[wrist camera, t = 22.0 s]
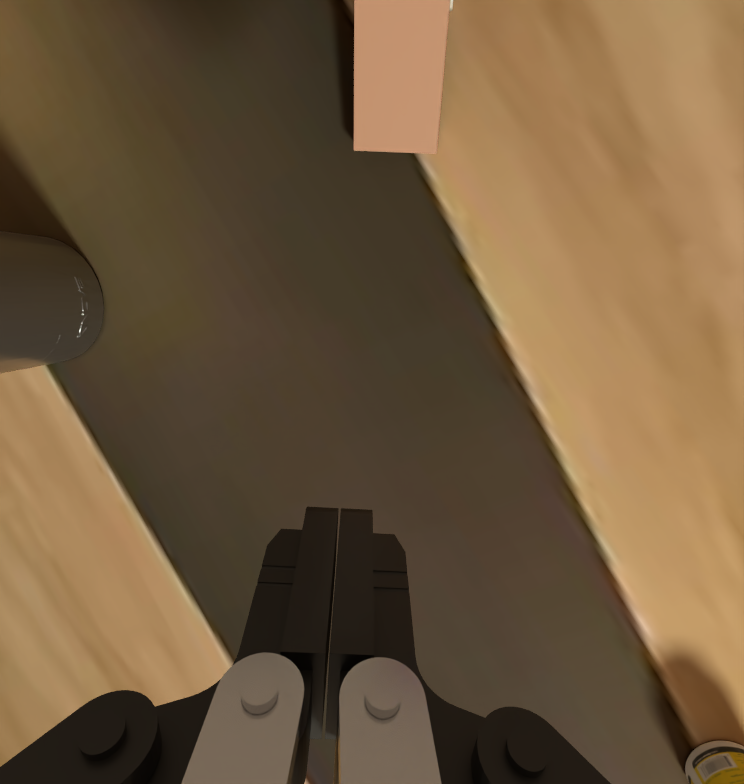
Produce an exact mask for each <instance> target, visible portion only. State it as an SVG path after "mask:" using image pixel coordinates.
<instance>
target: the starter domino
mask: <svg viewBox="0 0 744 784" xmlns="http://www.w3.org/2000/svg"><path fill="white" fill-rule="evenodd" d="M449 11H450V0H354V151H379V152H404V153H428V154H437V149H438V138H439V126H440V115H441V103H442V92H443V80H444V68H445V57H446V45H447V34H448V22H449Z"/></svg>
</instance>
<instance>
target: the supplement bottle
mask: <svg viewBox="0 0 744 784" xmlns="http://www.w3.org/2000/svg"><path fill="white" fill-rule="evenodd" d="M685 773H686V777H687V780H688V782H689V784H744V746H742V745H740V744H737V743H734V742H730V741H711V742H708V743H705V744H702V745H700V746H698V747H697V748H696V749H694V750H693V751H692V752H691V754H690V755H689V757H688V759H687V761H686V765H685Z"/></svg>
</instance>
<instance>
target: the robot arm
mask: <svg viewBox="0 0 744 784" xmlns="http://www.w3.org/2000/svg"><path fill="white" fill-rule="evenodd" d="M103 311H104V305H103V297H102V292H101V289H100V286H99V283H98V280H97V278H96V276H95V274H94V272H93V270H92V269H91V267H90V266H89V265H88V263H87V262H86V261H85V260H84V258H83V257H82V256H81V255H80V254H79V253H77V252H76V251H75V250H74V249H73V248H71V247H70V246H68V245H66V244H65V243H63V242H61V241H58V240H55V239H52V238H49V237H43V236H35V235H27V234H20V233H12V232H5V231H0V373H5V372H10V371H15V370H21V369H27V368H32V367H37V366H42V365H47V364H52V363H57V362H62V361H67V360H70V359H73V358H75V357H78V356H79V355H81V354H82V353H84V352H85V351H87V350H88V348H89V347H90V346H91V345H92V344H93V343H94V341H95V340H96V338H97V336H98V334H99V332H100V329H101V325H102V322H103ZM337 526H338V508H322V507H307V508H306V513H305V518H304V524H303V529H302V530H294V529H281V530H280V531H279V532H278V533H277V535H276V536H275V537H274V538H273V539H272V540H271V542H270V543H269V544H268V545H267V549H266V552H265V556H264V560H263V564H262V569H261V571H260V575H259V578H258V584H257V586H256V590H255V593H254V597H253V601H252V605H251V608H250V612H249V616H248V620H247V623H246V627H245V631H244V634H243V638H242V642H241V646H240V649H239V652H238V655H237V658H236V660H235V662H234V664H233V665H232V667H231V668H229V670H228V671H227V672H226V673H225V674H224V676H223V677H222V678H221V679H220V680H219V681H218V682H217V683H216V684H214V685H213V686H211V687H210V688H208V689H207V690H205V691H203V692H201V693H199V694H196V695H193V696H190V697H187V698H184V699H180V700H177V701H173V702H170V703H167V704H163V705H160V706H156V707H155V706H154V705H153V703H152V702H151V700H149V699H148V698H147V697H146V696H145V695H143V694H141V693H139V692H135V691H129V690H121V691H114V692H110V693H107V694H104V695H101V696H99V697H97V698H95V699H93V700H91V701H89V702H88V703H86V704H85V705H83V706H82V707H80V708H79V709H78V710H76V711H75V712H74V713H72V714H71V715H70V716H68V717H67V718H66V719H64V720H63V721H62V722H60V723H59V724H58V725H56V726H55V727H54V728H52V729H51V730H50V731H48V732H47V733H45V734H44V735H43V736H41V737H40V738H39V739H37V740H36V741H35V742H33V743H32V744H31V745H29V746H28V747H27V748H25V749H24V750H23V751H21V752H20V753H19V754H17V755H16V756H14V757H13V758H12V759H10V760H9V761H8V762H6V763H5V764H4V765H2V766H1V767H0V784H304V782H305V778H306V772H307V762H308V752H309V742H310V739H321V738H322V726H323V713H324V701H325V689H326V677H327V664H328V652H329V640H330V628H331V615H332V603H333V591H334V578H335V563H336V545H337ZM325 739H336V745H335V763H334V781H333V784H611V783H610V782H609V781H608V780H607V779H605V778H604V777H603V776H602V775H601V774H600V773H599V772H598V771H597V770H596V769H595V768H594V767H593V766H592V765H591V764H590V763H589V762H588V761H587V760H586V759H585V758H584V757H583V756H582V755H581V754H580V753H579V752H578V751H577V750H576V749H575V748H574V747H573V746H572V745H571V744H570V743H569V742H568V741H567V740H566V739H565V738H564V737H562V736H561V735H560V734H559V733H558V732H557V731H556V730H555V729H554V728H553V727H552V726H551V725H550V724H549V723H548V722H547V721H545V720H544V719H543V718H541V717H540V716H538V715H537V714H535V713H533V712H531V711H529V710H526V709H523V708H518V707H503V708H499V709H497V710H495V711H493V712H491V713H490V714H489V715H487V717H486V718H484V717H481V716H479V715H476V714H474V713H471V712H469V711H466V710H464V709H461V708H458V707H456V706H454V705H452V704H449V703H447V702H446V701H444V700H443V699H441V698H440V697H439V696H437V695H436V694H435V693H434V692H433V691H432V690H431V689H430V688H429V687H428V686H427V684H426V683H425V681H424V680H423V678H422V676H421V674H420V672H419V670H418V667H417V663H416V657H415V647H414V637H413V627H412V617H411V606H410V596H409V586H408V576H407V565H406V555H405V551H404V549H403V548H402V546H401V544H400V543H399V541H398V540H397V538H396V536H395V535H394V534H375V533H373V517H372V510H362V509H343V508H341V516H340V528H339V541H338V554H337V566H336V579H335V592H334V604H333V617H332V629H331V642H330V656H329V675H328V694H327V713H326V732H325Z"/></svg>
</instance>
